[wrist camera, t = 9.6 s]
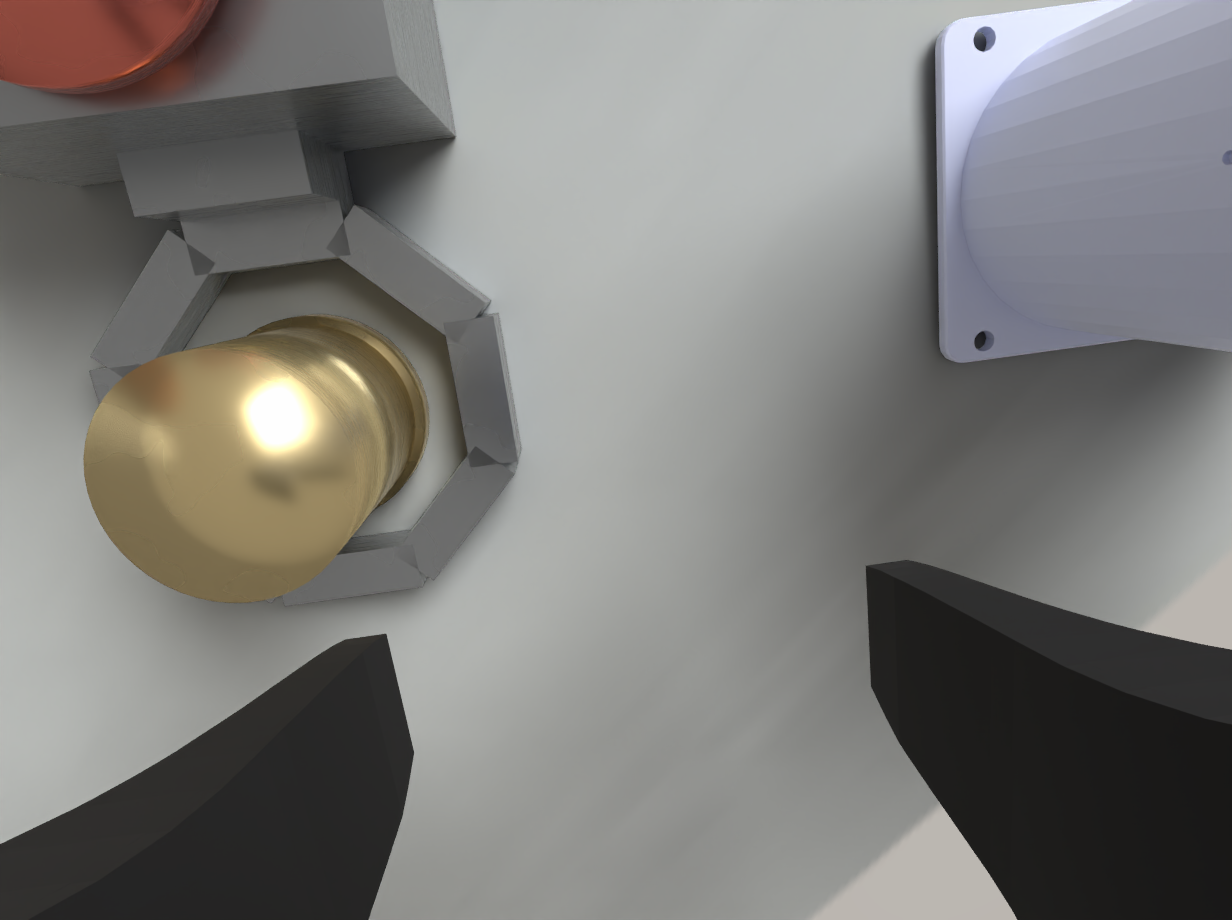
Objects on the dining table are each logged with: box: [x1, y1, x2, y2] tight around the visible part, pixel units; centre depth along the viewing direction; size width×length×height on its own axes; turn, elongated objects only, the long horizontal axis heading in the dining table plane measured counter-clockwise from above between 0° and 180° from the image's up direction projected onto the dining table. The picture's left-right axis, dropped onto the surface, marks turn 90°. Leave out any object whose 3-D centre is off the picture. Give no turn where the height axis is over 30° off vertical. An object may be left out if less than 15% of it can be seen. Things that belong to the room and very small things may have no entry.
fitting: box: [84, 314, 430, 603], centre depth 16 cm, size 5×5×6 cm
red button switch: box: [0, 0, 521, 606], centre depth 14 cm, size 10×20×7 cm, turn 7°
